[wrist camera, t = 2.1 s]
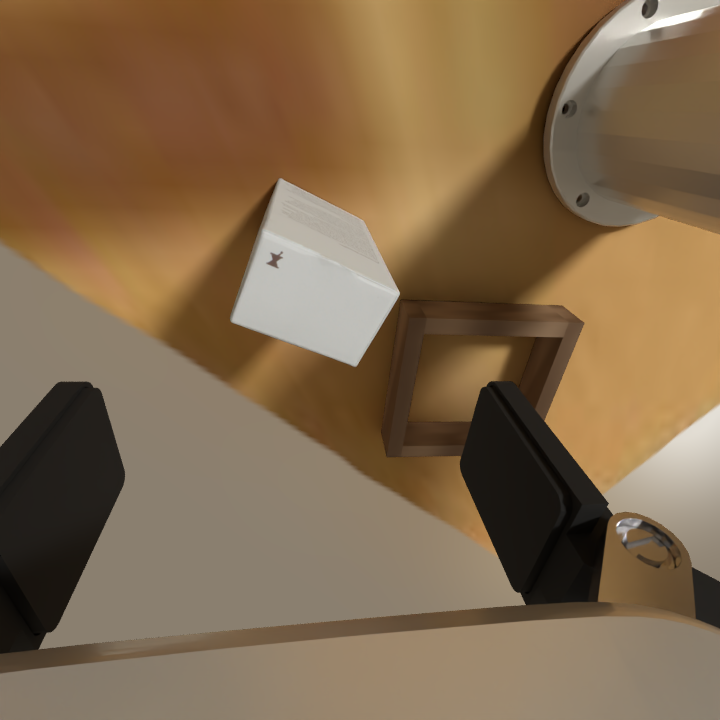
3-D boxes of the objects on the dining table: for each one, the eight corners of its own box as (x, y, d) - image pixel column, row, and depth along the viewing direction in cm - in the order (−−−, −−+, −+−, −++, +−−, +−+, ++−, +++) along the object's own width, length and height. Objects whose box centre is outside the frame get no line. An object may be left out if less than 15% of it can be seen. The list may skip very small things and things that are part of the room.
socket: (562, 305, 32) (584, 323, 29) (515, 431, 38) (530, 454, 36) (400, 299, 30) (409, 317, 27) (381, 432, 36) (386, 457, 34)
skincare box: (254, 239, 26) (223, 322, 16) (279, 175, 25) (260, 223, 15) (339, 277, 28) (357, 372, 18) (367, 220, 27) (404, 290, 17)
